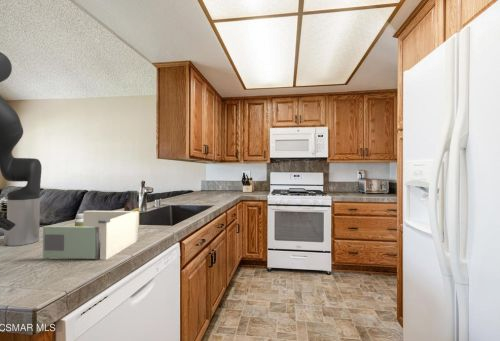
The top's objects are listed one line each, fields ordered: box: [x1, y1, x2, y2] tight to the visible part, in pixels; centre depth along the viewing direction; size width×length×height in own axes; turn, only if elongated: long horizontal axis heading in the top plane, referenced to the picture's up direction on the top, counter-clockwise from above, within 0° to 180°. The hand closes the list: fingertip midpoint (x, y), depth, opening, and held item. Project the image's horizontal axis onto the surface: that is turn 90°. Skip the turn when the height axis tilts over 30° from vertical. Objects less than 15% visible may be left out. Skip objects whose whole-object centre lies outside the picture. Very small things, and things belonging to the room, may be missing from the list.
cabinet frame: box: [83, 210, 139, 261], centre depth 86 cm, size 22×22×13 cm
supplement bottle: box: [74, 213, 83, 227], centre depth 102 cm, size 5×5×10 cm
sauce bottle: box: [123, 189, 140, 232], centre depth 104 cm, size 6×6×20 cm
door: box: [42, 225, 100, 260], centre depth 75 cm, size 18×1×10 cm, turn 89°
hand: (11, 227), depth 64 cm, fingers closed
